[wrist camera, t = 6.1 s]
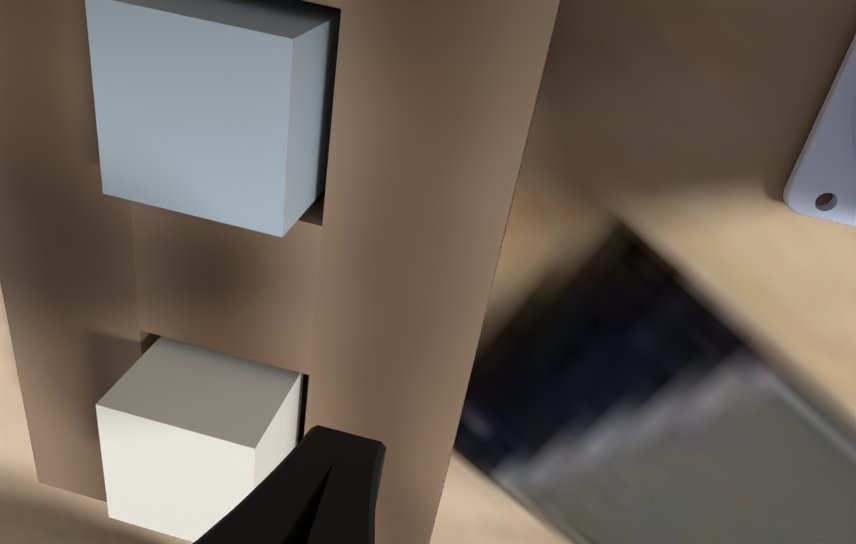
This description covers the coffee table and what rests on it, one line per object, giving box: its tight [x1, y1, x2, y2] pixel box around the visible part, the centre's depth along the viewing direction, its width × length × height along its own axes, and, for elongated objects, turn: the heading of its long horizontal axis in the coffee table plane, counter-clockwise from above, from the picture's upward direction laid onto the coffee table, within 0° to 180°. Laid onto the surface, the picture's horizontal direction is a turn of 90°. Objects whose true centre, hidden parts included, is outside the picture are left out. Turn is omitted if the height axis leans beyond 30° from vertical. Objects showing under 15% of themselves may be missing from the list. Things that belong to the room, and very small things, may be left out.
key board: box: [0, 0, 561, 544], centre depth 18 cm, size 14×31×4 cm, turn 171°
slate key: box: [85, 0, 341, 237], centre depth 16 cm, size 4×4×4 cm
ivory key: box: [95, 336, 304, 542], centre depth 20 cm, size 4×4×4 cm
